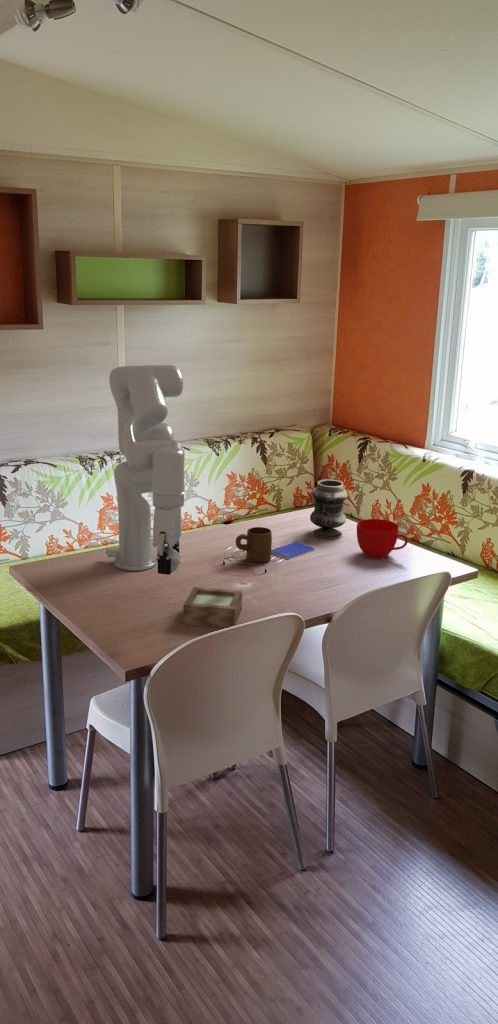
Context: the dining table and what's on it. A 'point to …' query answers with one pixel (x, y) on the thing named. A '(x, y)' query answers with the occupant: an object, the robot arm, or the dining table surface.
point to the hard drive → (292, 550)
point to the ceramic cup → (378, 537)
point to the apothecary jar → (328, 508)
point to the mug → (256, 544)
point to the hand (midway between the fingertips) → (168, 567)
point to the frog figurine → (173, 559)
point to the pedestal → (212, 607)
